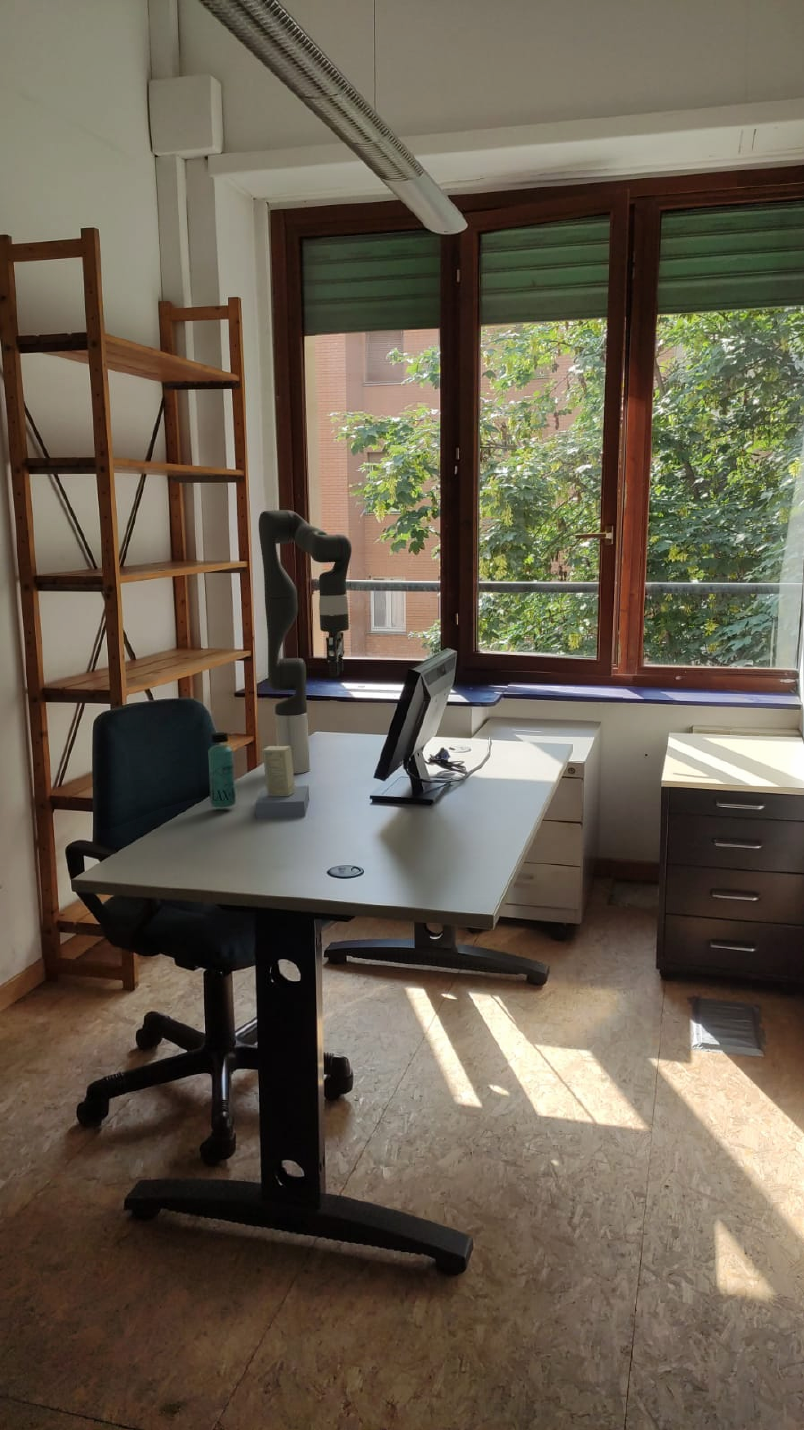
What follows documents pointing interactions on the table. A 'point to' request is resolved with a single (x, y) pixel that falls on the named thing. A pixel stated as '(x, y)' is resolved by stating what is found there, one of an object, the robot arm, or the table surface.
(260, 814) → the flat grey slab
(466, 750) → the table surface
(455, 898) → the table surface
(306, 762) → the robot arm
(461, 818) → the table surface
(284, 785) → the skincare box
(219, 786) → the beverage bottle
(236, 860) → the table surface
